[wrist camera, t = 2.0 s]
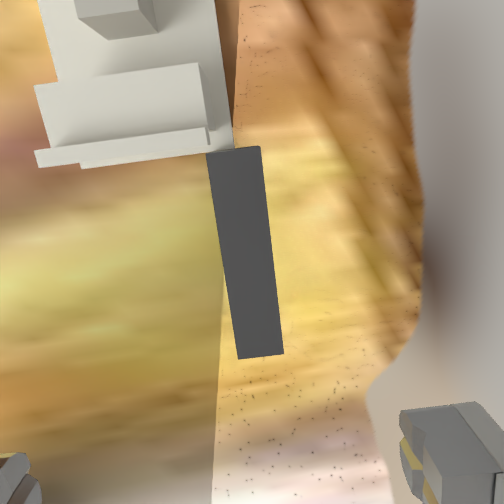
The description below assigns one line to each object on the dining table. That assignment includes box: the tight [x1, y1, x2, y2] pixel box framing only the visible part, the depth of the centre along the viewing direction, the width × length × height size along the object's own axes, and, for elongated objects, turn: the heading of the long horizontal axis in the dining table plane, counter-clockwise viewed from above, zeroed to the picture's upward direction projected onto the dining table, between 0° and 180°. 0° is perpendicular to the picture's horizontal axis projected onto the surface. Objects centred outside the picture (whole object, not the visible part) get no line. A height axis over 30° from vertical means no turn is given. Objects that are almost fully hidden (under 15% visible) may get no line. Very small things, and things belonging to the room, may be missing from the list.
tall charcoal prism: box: [206, 146, 284, 360], centre depth 24 cm, size 13×3×5 cm, turn 7°
